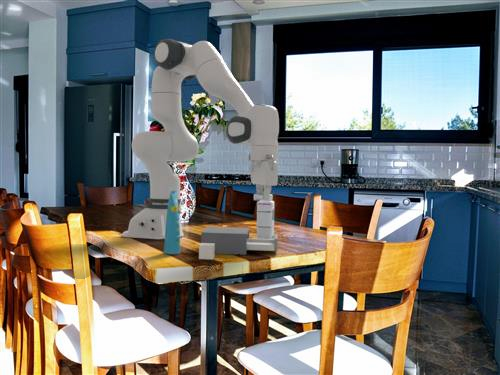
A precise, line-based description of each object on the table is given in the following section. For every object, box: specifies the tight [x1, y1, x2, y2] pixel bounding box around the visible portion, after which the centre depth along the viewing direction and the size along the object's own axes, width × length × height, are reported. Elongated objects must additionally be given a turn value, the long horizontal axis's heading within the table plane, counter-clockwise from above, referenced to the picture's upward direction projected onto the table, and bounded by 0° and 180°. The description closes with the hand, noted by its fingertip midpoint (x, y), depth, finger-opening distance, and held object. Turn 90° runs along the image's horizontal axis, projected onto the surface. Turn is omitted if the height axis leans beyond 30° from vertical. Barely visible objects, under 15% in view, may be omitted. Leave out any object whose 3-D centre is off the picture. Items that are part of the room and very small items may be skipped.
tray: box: [246, 233, 279, 252], centre depth 146 cm, size 13×11×4 cm
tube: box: [163, 190, 181, 255], centre depth 138 cm, size 7×5×19 cm, turn 3°
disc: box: [253, 192, 274, 202], centre depth 145 cm, size 6×6×2 cm
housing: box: [200, 226, 250, 256], centre depth 147 cm, size 14×14×6 cm
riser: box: [198, 242, 216, 260], centre depth 133 cm, size 4×4×4 cm
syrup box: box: [256, 200, 275, 239], centre depth 170 cm, size 6×6×14 cm
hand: (263, 199), depth 145 cm, fingers closed on disc, 6 cm apart
